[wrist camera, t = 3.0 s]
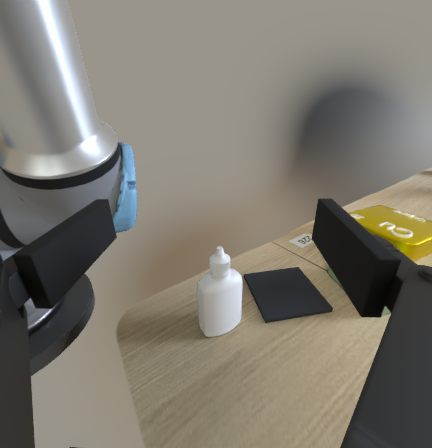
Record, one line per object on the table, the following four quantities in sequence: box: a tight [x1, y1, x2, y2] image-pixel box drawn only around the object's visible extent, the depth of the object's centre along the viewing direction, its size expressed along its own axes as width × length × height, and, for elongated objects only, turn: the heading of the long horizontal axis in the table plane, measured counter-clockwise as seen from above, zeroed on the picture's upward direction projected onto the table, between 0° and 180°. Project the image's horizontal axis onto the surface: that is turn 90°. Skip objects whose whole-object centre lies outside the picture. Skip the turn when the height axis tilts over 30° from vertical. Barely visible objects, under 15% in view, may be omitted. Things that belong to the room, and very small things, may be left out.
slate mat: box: [244, 267, 333, 323], centre depth 38 cm, size 10×10×1 cm
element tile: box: [348, 205, 432, 261], centre depth 51 cm, size 15×15×5 cm
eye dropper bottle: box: [197, 246, 242, 337], centre depth 30 cm, size 4×6×12 cm
